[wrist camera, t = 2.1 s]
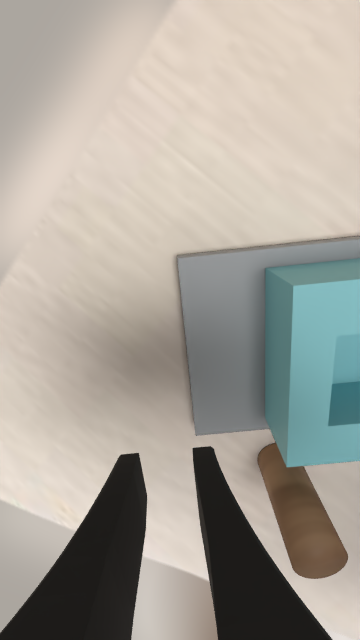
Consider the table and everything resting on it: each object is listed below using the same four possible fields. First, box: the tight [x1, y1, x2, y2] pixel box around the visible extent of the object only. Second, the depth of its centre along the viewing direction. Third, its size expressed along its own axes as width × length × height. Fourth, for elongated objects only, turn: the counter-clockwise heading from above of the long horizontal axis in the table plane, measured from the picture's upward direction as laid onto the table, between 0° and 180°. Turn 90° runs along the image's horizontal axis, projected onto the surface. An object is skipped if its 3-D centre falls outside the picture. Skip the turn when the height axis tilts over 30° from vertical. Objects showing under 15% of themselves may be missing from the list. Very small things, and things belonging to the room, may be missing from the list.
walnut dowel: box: [258, 443, 348, 579], centre depth 19 cm, size 3×3×7 cm
